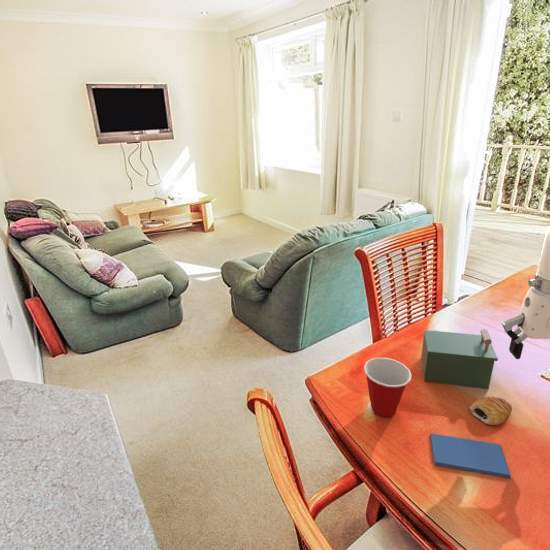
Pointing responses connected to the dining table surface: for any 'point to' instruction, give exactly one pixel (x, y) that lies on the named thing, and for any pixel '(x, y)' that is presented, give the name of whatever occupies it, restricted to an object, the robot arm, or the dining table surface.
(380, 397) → the plastic cup
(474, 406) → the pastry
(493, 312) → the dining table surface
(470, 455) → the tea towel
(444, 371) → the bin
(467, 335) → the bread bin lid
